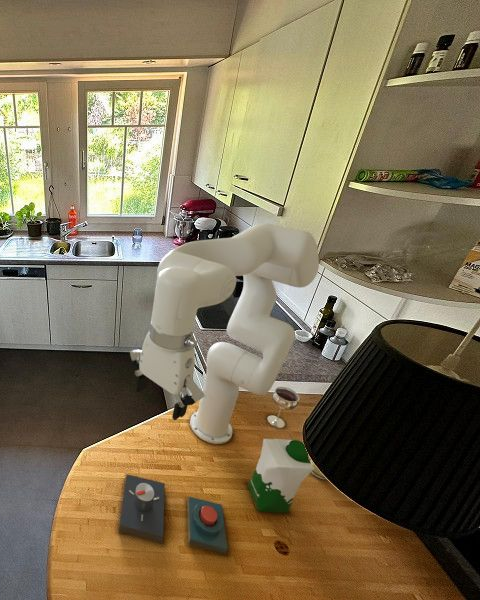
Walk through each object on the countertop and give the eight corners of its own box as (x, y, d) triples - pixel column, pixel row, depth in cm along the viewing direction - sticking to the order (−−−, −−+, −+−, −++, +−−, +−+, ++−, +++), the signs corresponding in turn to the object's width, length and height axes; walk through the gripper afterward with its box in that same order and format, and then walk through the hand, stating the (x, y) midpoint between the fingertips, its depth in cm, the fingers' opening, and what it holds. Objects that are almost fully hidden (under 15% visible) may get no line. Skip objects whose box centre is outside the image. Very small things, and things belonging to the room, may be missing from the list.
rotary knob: (147, 491, 82) (149, 480, 80) (155, 509, 78) (157, 497, 76) (131, 496, 81) (133, 484, 79) (138, 514, 77) (140, 502, 75)
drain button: (199, 508, 78) (200, 503, 77) (215, 512, 77) (216, 507, 76) (200, 523, 75) (201, 519, 74) (216, 527, 74) (218, 523, 73)
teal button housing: (187, 501, 83) (189, 492, 81) (220, 509, 81) (223, 500, 79) (188, 544, 74) (191, 534, 72) (225, 554, 73) (229, 545, 71)
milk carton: (293, 517, 79) (321, 465, 70) (255, 515, 80) (279, 463, 70) (276, 482, 87) (299, 431, 78) (242, 481, 88) (261, 430, 78)
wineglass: (271, 430, 102) (282, 402, 97) (260, 413, 108) (270, 386, 103) (292, 429, 102) (304, 402, 97) (280, 413, 108) (291, 386, 103)
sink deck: (125, 480, 88) (126, 473, 86) (163, 490, 85) (164, 482, 84) (118, 531, 77) (119, 524, 75) (161, 544, 74) (163, 536, 73)
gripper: (224, 348, 56) (205, 419, 64) (147, 309, 68) (139, 373, 76) (199, 365, 52) (182, 438, 60) (122, 320, 64) (117, 387, 71)
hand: (158, 402), depth 68 cm, fingers open, 9 cm apart
